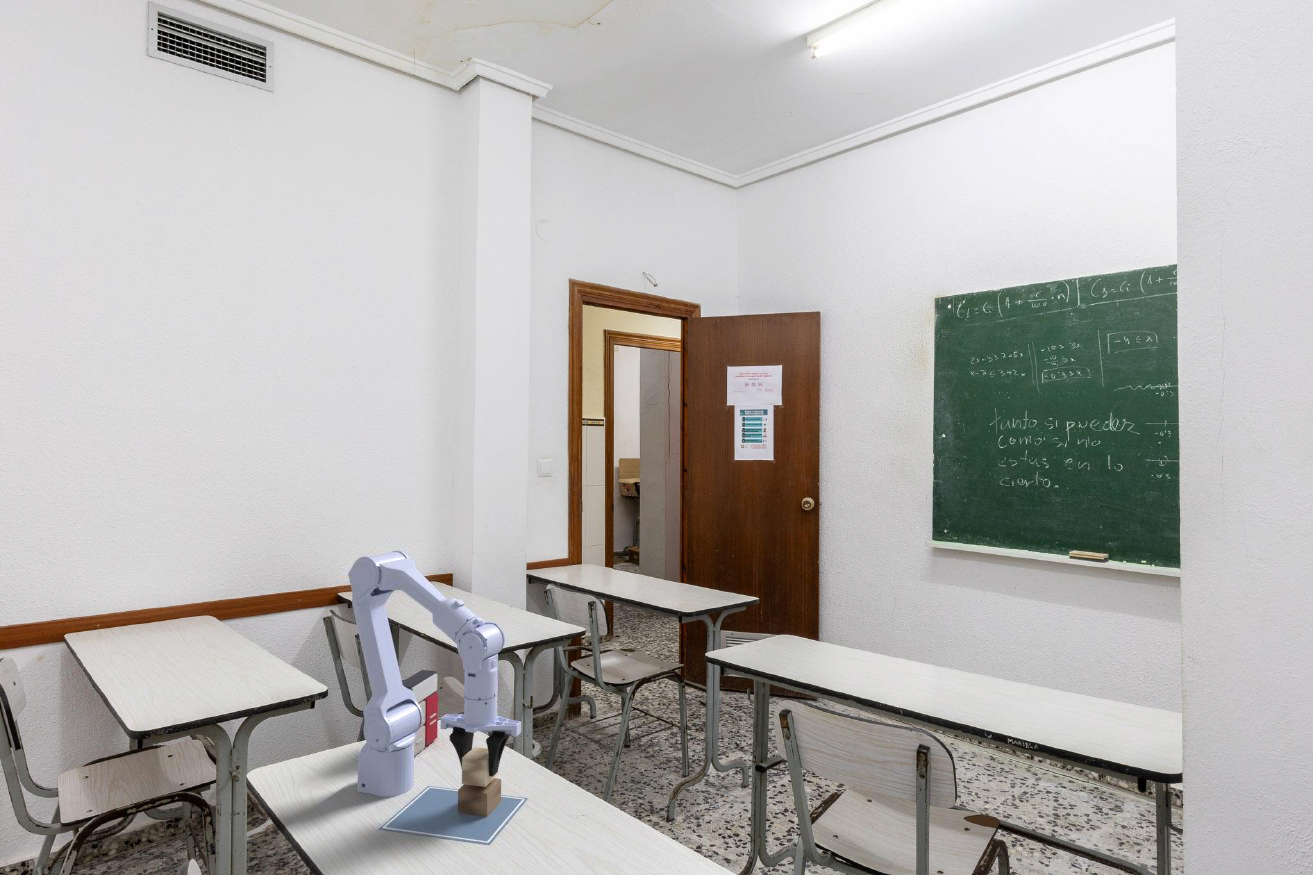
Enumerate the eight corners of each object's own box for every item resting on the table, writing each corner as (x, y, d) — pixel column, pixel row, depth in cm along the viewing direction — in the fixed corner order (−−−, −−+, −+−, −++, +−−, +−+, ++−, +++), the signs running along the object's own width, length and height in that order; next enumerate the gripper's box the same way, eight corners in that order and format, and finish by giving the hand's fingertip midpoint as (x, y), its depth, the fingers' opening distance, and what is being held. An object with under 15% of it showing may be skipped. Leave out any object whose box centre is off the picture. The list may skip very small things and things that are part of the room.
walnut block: (457, 813, 123) (458, 789, 123) (472, 797, 128) (473, 775, 128) (487, 816, 121) (487, 793, 122) (501, 801, 127) (501, 778, 127)
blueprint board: (378, 833, 117) (378, 828, 117) (428, 790, 133) (428, 785, 133) (489, 849, 113) (489, 844, 113) (528, 802, 128) (528, 797, 128)
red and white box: (412, 760, 145) (413, 686, 145) (393, 758, 146) (394, 685, 146) (439, 739, 156) (440, 670, 156) (421, 737, 157) (422, 669, 157)
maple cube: (461, 783, 123) (462, 757, 123) (474, 772, 127) (474, 747, 127) (485, 786, 122) (485, 760, 122) (497, 775, 126) (497, 749, 126)
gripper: (431, 698, 123) (430, 777, 123) (509, 706, 120) (508, 787, 119) (452, 685, 130) (451, 760, 129) (526, 692, 126) (525, 768, 126)
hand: (480, 772), depth 125 cm, fingers closed on maple cube, 4 cm apart
